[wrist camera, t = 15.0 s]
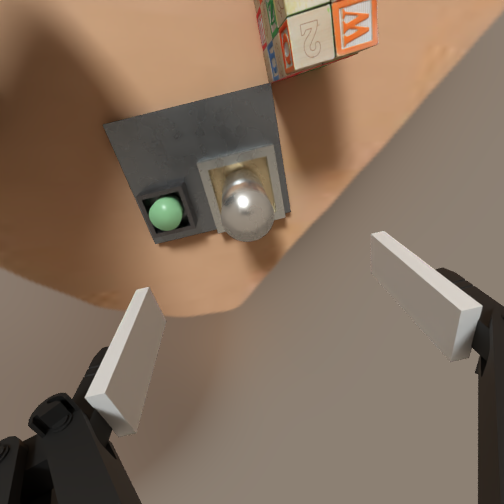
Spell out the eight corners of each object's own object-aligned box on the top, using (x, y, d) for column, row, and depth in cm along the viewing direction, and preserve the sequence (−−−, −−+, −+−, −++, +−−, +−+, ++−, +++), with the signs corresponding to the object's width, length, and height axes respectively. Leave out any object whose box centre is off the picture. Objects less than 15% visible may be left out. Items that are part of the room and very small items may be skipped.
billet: (217, 174, 33) (214, 198, 24) (258, 164, 33) (269, 185, 24) (228, 212, 35) (228, 246, 26) (265, 203, 35) (278, 235, 26)
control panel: (106, 124, 30) (92, 125, 27) (269, 83, 30) (274, 80, 27) (156, 240, 37) (150, 252, 34) (289, 209, 37) (295, 218, 34)
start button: (150, 197, 33) (143, 205, 30) (178, 190, 33) (174, 197, 30) (161, 224, 35) (156, 233, 32) (188, 217, 34) (185, 226, 32)
